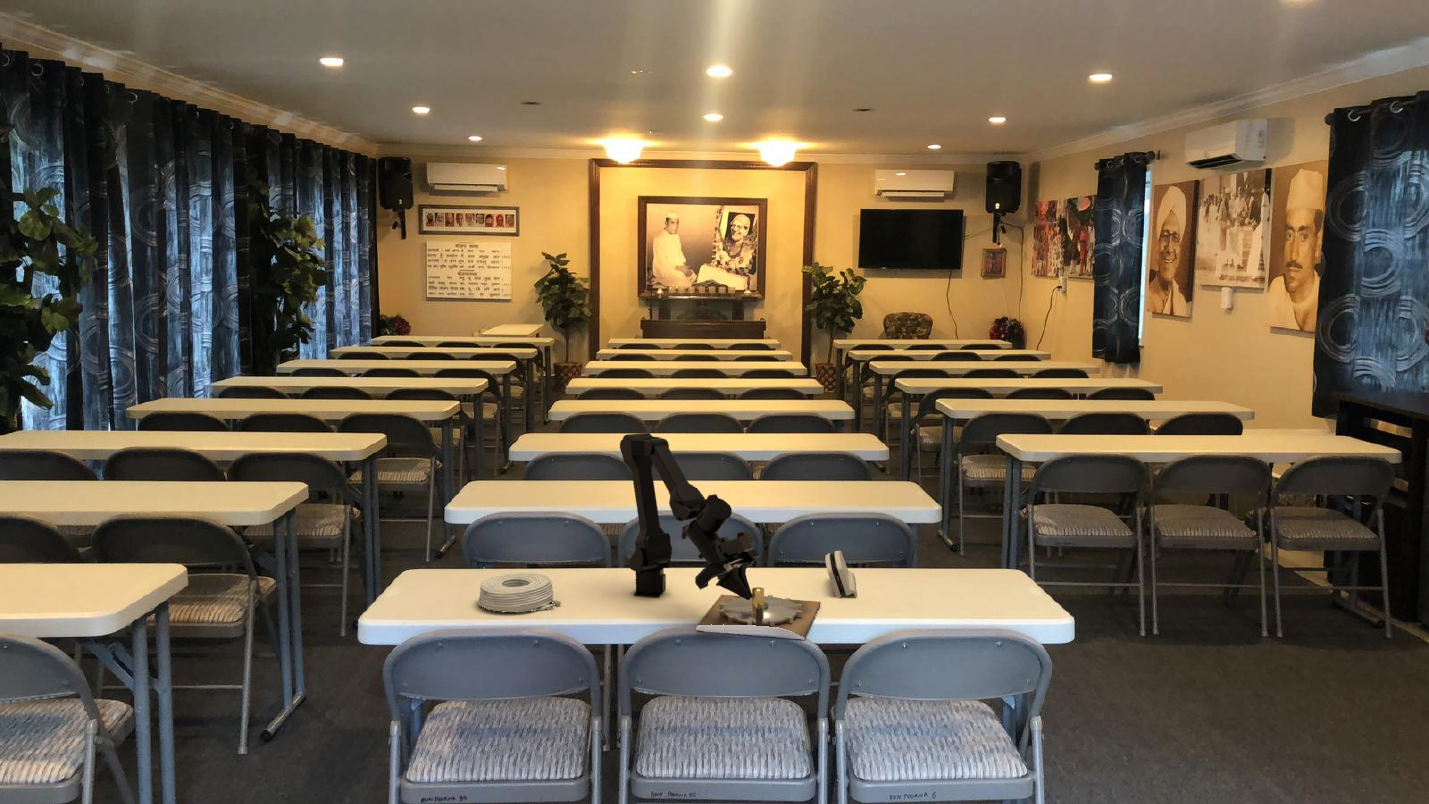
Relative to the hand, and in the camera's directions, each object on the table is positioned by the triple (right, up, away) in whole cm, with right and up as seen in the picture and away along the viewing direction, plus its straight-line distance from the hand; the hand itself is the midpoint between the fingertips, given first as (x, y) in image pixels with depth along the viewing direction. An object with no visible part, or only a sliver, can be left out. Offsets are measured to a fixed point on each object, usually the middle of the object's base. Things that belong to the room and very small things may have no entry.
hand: (750, 598), depth 234 cm
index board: (+3, -6, +8) cm, 10 cm away
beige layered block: (+23, -3, +30) cm, 39 cm away
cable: (-55, -5, +19) cm, 58 cm away
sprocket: (+3, -5, +7) cm, 9 cm away
